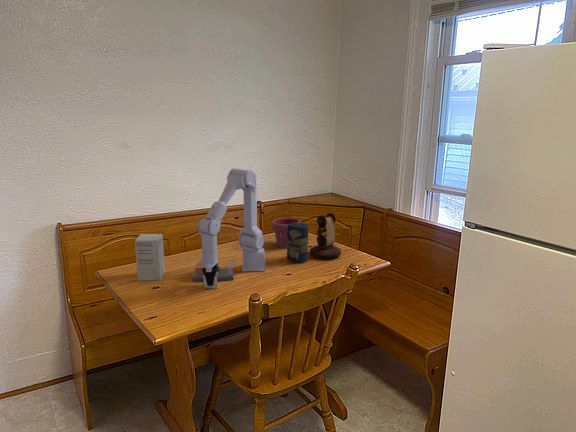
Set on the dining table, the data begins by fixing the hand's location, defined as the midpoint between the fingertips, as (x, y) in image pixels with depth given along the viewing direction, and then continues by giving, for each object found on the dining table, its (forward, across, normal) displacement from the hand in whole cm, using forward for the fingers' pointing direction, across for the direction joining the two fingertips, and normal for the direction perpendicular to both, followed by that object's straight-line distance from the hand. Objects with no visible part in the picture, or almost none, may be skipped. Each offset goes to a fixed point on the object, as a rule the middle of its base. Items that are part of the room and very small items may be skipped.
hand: (210, 282), depth 174 cm
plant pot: (+2, -50, +34) cm, 60 cm away
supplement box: (+2, -12, -25) cm, 28 cm away
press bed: (+1, -10, 0) cm, 11 cm away
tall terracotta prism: (0, -10, -5) cm, 11 cm away
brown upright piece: (+2, -34, +51) cm, 61 cm away
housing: (+1, 0, 0) cm, 1 cm away
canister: (+2, -28, +37) cm, 46 cm away
